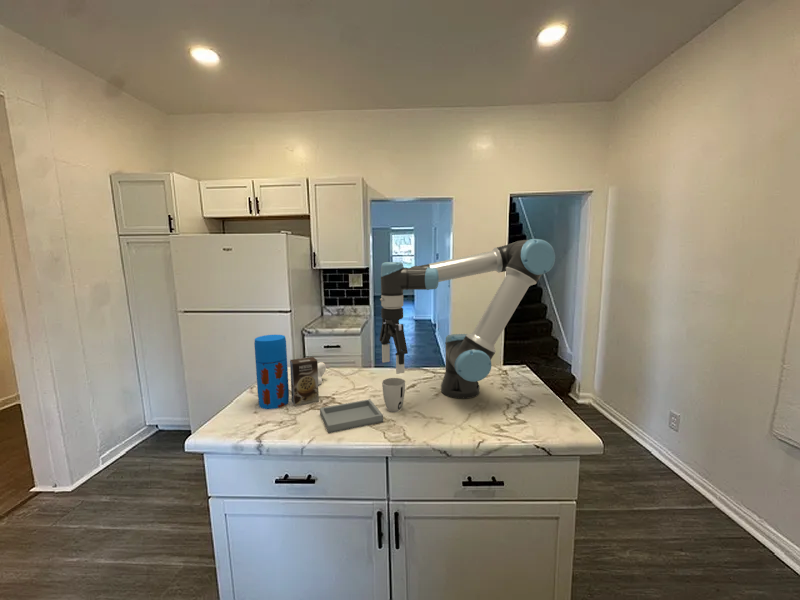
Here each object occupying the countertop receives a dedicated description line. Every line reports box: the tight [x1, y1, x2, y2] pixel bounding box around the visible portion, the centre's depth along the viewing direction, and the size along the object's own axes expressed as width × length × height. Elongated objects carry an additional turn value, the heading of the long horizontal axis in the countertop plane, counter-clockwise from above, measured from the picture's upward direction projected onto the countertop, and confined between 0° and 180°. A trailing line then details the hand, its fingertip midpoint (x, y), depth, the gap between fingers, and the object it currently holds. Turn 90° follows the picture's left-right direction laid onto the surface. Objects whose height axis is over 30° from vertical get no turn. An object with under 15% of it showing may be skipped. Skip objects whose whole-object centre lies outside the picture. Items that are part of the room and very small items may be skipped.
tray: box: [319, 398, 384, 434], centre depth 119 cm, size 18×14×2 cm
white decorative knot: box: [317, 361, 327, 386], centre depth 152 cm, size 11×12×9 cm
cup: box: [381, 377, 406, 413], centre depth 125 cm, size 8×8×10 cm
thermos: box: [254, 334, 290, 410], centre depth 130 cm, size 11×11×25 cm
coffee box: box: [289, 356, 320, 407], centre depth 132 cm, size 9×6×16 cm
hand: (392, 367), depth 124 cm, fingers open, 13 cm apart
